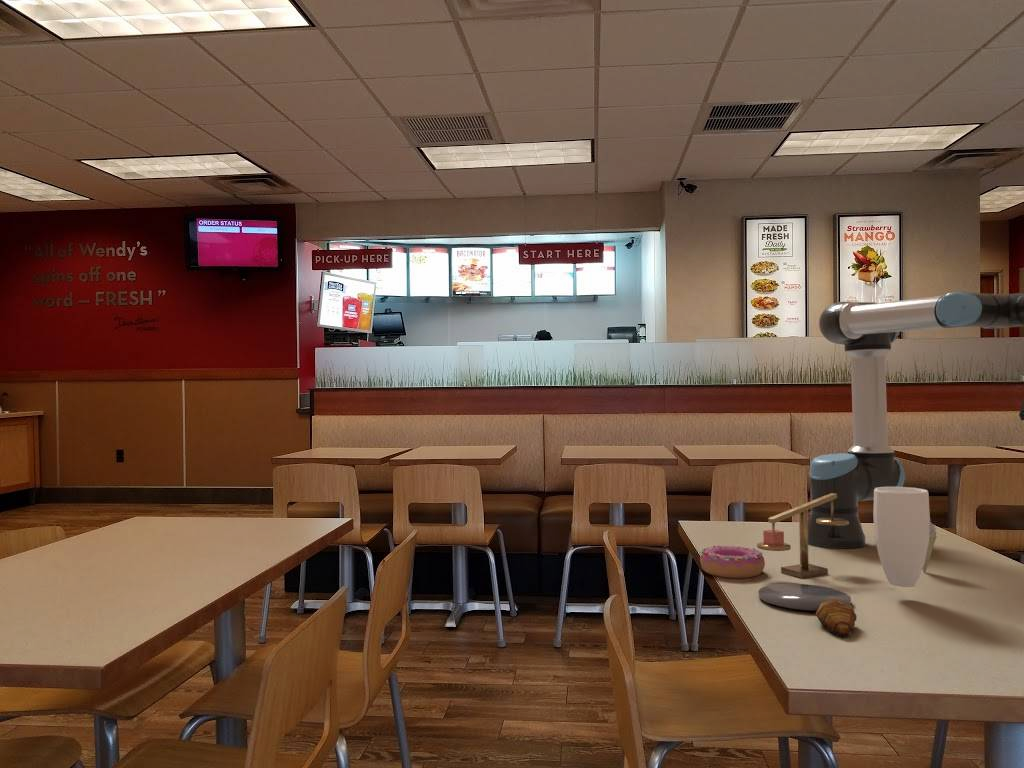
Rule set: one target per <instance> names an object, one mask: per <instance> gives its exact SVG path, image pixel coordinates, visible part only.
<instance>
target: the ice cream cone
mask: <svg viewBox="0 0 1024 768" xmlns="http://www.w3.org/2000/svg"><path fill="white" fill-rule="evenodd" d="M936 530H937V529H936V525H935V524H933V523H932V522H931V517H930V526H929V544H928V548H927V553H926V558H925V563H924V566H923V568H922V571H923V573H926V572H927V570H928V566H929V563H930V559H931V556H932V553H933V550H934V546H935V543H936V540H937V538H938V537H937V531H936Z"/></svg>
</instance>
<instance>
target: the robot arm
mask: <svg viewBox="0 0 1024 768" xmlns="http://www.w3.org/2000/svg"><path fill="white" fill-rule="evenodd" d="M818 326H819V327H818V328H819V331H820V334H822V336H823V337H824V338H825V340H827V341H829V342H831V343H834V344H836V345H842V346H843V347H844V354H846V355H847V356H848V357H849V358H850V369H851V370H850V371H851V372H850V373H851V403H852V407H851V409H852V435H853V437H852V440H853V444H852V446H851V447H850V448H849V449H848V450H847V453H828V454H822V455H818V456H816V457H814V458H813V459H811V460H810V466H809V474H808V475H809V490H810V493H809V494H810V495H809V496H810V501H813V500H815V499H818V498H820V497H823V496H826V495H828V494H831V493H835V494H837V498H836V499H834V500H833V514H834V518H839V519H845V520H848V521H849V525H844V526H830V525H822V524H818V523H816V519H818V518H831V501H829V502H826V503H824V504H821V505H819V506H816V507H814V508H811V509H810V514H809V516H808V545H813V546H817V547H824V548H831V549H832V548H833V549H834V548H835V549H855V548H862V547H865V546H866V534H865V533H864V530H863V527H862V523H861V521H860V518H859V514H858V513H859V511H858V508H859V507H858V506H859V505H858V503H859V502H864V501H874V489H875V488H878V487H904V484H905V477H906V473H905V469H904V466H903V465H902V464H901V462H900V460H899V459H898V458H896V457H895V450H894V449H893V448H892V447H891V446H890V445H889V440H888V438H889V437H888V436H889V435H888V411H887V409H888V407H887V406H888V405H887V404H888V403H887V402H888V401H887V381H886V380H887V375H886V374H887V373H886V356H888V354H890V352H891V351H892V344H893V343H894V341H896V340H897V337H899V333H900V332H912V331H922V330H923V331H925V330H935V329H953V328H955V329H956V328H965V327H966V328H967V327H968V328H974V327H975V328H976V327H977V328H982V329H989V330H990V329H991V330H993V329H994V330H995V329H996V330H999V329H1005V328H1019V327H1024V292H1018V293H1008V294H1004V293H1003V294H1002V293H984V292H983V293H980V292H979V293H978V292H968V291H954V292H949V293H946V294H943V295H937V296H936V295H935V296H928V297H926V296H925V297H918V298H911V299H901V300H893V301H886V302H885V301H884V302H875V301H874V302H871V301H870V302H866V301H865V302H863V301H837V302H834V303H831V304H829V305H828V306H826V307H825V309H823V311H822V312H821V314H820V317H819V321H818ZM1018 414H1019V415H1018V417H1019V418H1020V420H1021V421H1024V398H1023V400H1022V403H1021V405H1020V411H1019V413H1018Z"/></svg>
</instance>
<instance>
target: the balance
mask: <svg viewBox="0 0 1024 768" xmlns="http://www.w3.org/2000/svg"><path fill="white" fill-rule="evenodd" d="M836 498H837V494H835V493H831V494H828V495H826V496H823V497H820V498H818V499H815V500H813V501H811V500H810V501H808V502H806V503H803V504H800V505H798V506H795V507H793V508H791V509H788V510H785V511H783V512H781V513H778V514H776V515H774V516H773V515H772V516H770V517H768V518H767V520H768V524H769V523H770V524H771V527H772V529H766V530H763V533H762V535H763V541H760V542H758V543H756V547H757V548H758V549H760V550H763V551H764V550H765V551H771V552H772V551H773V552H785V551H789V550H791V547H792V546H791V544H789V543H787V542H785V536H784V535H785V532H784V531H782V530H778V529H776V527H775V526H776V525H775V524H777V523H779V522H782V521H783V520H787V519H789V518H791V517H794V516H796V515H799V516H798V519H799V521H798V522H799V523H798V524H799V527H798V528H799V529H798V530H799V563H798V564H793V565H787V566H786V565H785V566H780V572H781V573H782V574H786V575H790V576H792V577H795V578H800V579H805V578H811V577H816V576H817V577H818V576H824V575H829V568H827V567H824V566H820V565H815V564H813V563H809V544H808V520H809V515H808V513H809V512H808V511H809V510H811V508H814V507H816V506H819V505H821V504H824V503H826V502H829V501H831V518H818V519H816V523H818V524H822V525H830V526H844V525H849V521H848V520H845V519H839V518H834V514H833V500H834V499H836Z"/></svg>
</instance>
